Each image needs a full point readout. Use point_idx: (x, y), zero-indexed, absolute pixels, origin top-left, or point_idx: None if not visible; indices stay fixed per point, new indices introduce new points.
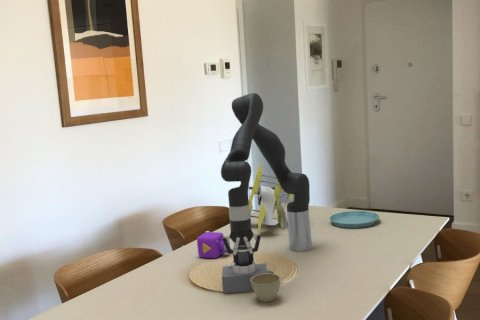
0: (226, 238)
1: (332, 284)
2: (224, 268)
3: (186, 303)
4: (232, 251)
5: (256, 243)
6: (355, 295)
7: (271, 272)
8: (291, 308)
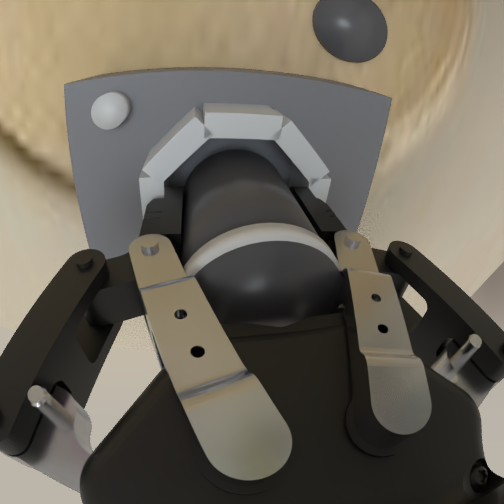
0: (54, 461)
1: (477, 216)
2: (78, 127)
3: (18, 279)
4: (134, 311)
5: (415, 350)
6: (465, 279)
7: (377, 25)
8: None
